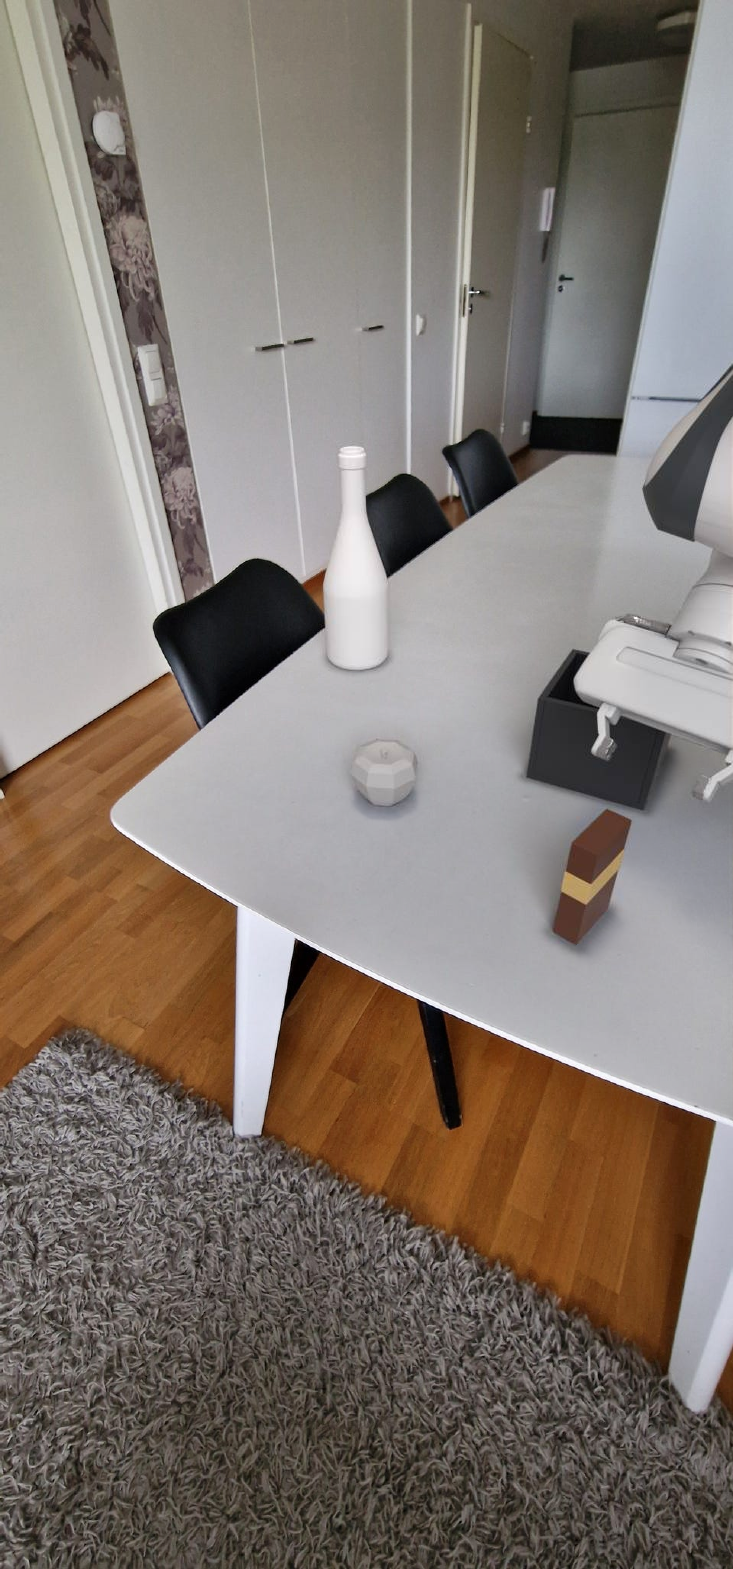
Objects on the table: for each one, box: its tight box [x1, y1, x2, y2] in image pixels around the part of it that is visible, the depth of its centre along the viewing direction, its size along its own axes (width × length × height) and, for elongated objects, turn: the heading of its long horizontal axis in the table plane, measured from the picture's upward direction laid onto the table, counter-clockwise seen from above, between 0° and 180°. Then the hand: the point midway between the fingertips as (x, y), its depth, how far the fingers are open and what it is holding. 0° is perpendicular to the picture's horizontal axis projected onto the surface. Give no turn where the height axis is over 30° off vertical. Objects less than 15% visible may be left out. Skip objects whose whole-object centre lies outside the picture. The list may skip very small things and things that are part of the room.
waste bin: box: [525, 648, 672, 811], centre depth 82 cm, size 14×14×11 cm
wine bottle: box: [322, 445, 389, 671], centre depth 100 cm, size 10×10×30 cm
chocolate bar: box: [552, 808, 633, 946], centre depth 62 cm, size 2×6×11 cm, turn 137°
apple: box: [349, 738, 419, 807], centre depth 79 cm, size 8×8×7 cm
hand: (647, 776), depth 63 cm, fingers open, 8 cm apart
